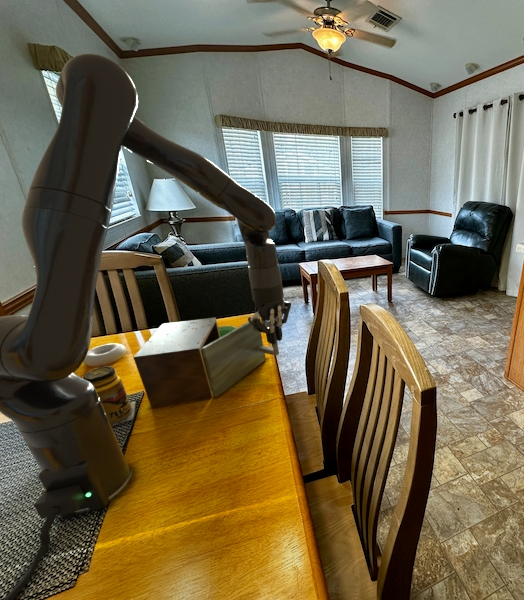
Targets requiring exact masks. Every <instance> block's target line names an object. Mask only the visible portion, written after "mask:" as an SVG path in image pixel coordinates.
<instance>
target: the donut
mask: <svg viewBox="0 0 524 600" xmlns="http://www.w3.org/2000/svg"><path fill="white" fill-rule="evenodd" d="M126 352H127V348H126V346H125V345H124V344H121V343H115V342H114V343H106V344H101V345H97V346H95V347H92V348H91V349H89V350H88V353H87V356H86V358H85V360H84V362H83V363H82V364H83V365H85V366H88V367H103V366H107V365H109V364H112V363H114V362H118V361H119V360H120V359H122V358H123V357H124V356H125V354H126Z"/></svg>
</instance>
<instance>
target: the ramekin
mask: <svg viewBox="0 0 524 600" xmlns="http://www.w3.org/2000/svg"><path fill="white" fill-rule="evenodd" d="M236 328H237V327H235V326H233V325H221V326H218V329H219V333H220V337H222V336H224V335H225V334H227V333H229V332H231V331H233V330H234V329H236Z"/></svg>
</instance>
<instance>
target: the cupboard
mask: <svg viewBox="0 0 524 600" xmlns="http://www.w3.org/2000/svg"><path fill="white" fill-rule="evenodd" d="M218 327H219V325H218V321H217V317H208V318H207V317H206V318H199V319H189V320H182V321H172V322H171V321H170V322H163V323H161V325H160V326H159V327H158V328H157V329H156V331H155V332H153V334H152V335H151V336H150V337H149V339H148V340H147V341H146V342H145V343H144V344H143V345H142V347H141V348H140V349H139V350H138V351H137V352H136V353H135V354H134V355H133V360H134V363H135V366H136V368H137V372H138V374H139V377H140V380H141V383H142V386H143V388H144V391H145V395H146V397H147V399H148V402H149V405H150V408H151V409H152V408H158V407H165V406H170V405H175V404H182V403H186V402H193V401H199V400H200V401H201V400H205V399H210V398H213V397H214V395H213V391H212V387H211V383H210V380H209V376H208V372H207V368H206V364H205V361H204V357H203V353H202V349H201V348H203V347H204V346H206V345H208V344H210V343H211V342H213V341H215V340H217V339H218V338H220V333H219V329H218Z"/></svg>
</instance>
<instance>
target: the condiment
mask: <svg viewBox="0 0 524 600" xmlns="http://www.w3.org/2000/svg"><path fill="white" fill-rule="evenodd" d="M82 378H83V379H85V380H87V381H89V382H90V383H92V384H93V386H94V387H95V389H96V391H97V393H98V396H99V398H100V401H101V403H102V405H103V408H104V410H105V413H106V415H107V417H108V420H109V422H110V424H111V427H113V426H116V425H119V424H122V423H125V422H127V421H128V422H129V421H132V420H133V419H134V416H135V412H136V411H135V410H136V401H137V400H135V401H130V399H129V396H128V394H127V391H126V389H125V386H124V384H123V380H122V378H121V376H119V375H118V373H117V372H116V368H114V367H113V366H108V365H104V366H98V367H96V368H94V369H91V370H89V371H88V372H86V373H85V374H83V377H82Z"/></svg>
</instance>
